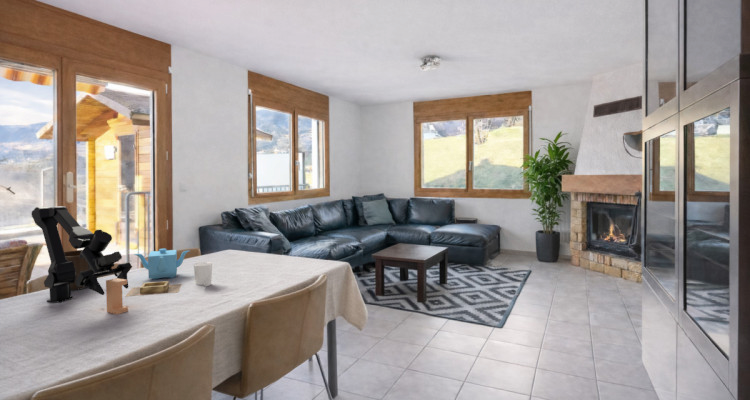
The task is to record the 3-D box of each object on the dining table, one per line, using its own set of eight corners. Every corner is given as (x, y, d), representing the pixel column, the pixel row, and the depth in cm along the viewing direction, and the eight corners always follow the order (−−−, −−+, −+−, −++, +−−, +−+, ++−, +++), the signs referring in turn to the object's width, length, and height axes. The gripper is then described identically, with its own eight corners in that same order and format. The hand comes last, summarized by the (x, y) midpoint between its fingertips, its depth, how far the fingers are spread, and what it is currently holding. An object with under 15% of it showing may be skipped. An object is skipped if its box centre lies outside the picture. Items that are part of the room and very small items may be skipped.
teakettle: (164, 272, 213) (163, 244, 212) (192, 275, 207) (192, 246, 206) (132, 281, 196) (131, 251, 195) (162, 284, 189) (161, 253, 188)
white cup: (190, 285, 188) (190, 264, 187) (204, 282, 195) (204, 261, 194) (202, 288, 184) (201, 266, 184) (216, 284, 191) (215, 263, 190)
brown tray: (124, 298, 168) (124, 290, 167) (132, 289, 181) (132, 282, 181) (178, 294, 174) (178, 286, 174) (181, 286, 187) (181, 278, 187)
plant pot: (106, 283, 190) (105, 250, 189) (80, 293, 175) (78, 256, 174) (77, 282, 192) (75, 249, 191) (48, 291, 177) (47, 255, 176)
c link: (107, 312, 152) (105, 280, 151) (117, 308, 155) (116, 278, 155) (117, 314, 149) (116, 282, 149) (128, 310, 153) (127, 279, 152)
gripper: (78, 250, 145) (100, 283, 141) (128, 242, 162) (148, 272, 158) (65, 269, 148) (86, 303, 145) (115, 259, 165) (135, 289, 162)
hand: (115, 290), depth 152 cm, fingers open, 9 cm apart
